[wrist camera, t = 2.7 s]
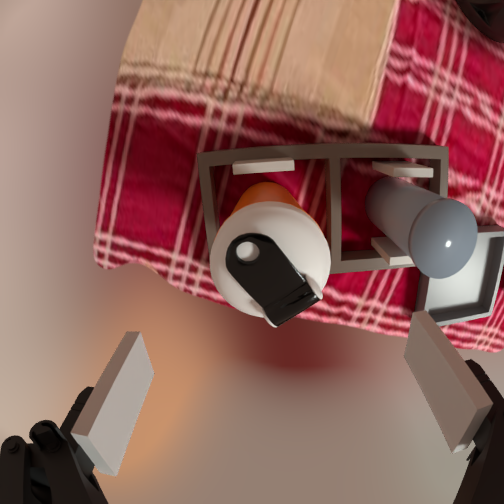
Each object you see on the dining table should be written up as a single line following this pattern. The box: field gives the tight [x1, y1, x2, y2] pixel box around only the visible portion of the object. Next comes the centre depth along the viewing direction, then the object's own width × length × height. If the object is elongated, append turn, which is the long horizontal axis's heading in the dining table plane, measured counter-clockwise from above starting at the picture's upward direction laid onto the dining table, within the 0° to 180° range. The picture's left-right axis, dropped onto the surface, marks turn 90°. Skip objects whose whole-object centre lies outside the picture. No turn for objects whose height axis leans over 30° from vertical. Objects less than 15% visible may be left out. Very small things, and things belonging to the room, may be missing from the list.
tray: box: [414, 225, 504, 326], centre depth 40 cm, size 15×15×3 cm
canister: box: [365, 177, 478, 279], centre depth 32 cm, size 7×7×15 cm
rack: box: [197, 143, 448, 274], centre depth 36 cm, size 16×30×7 cm, turn 95°
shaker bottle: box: [210, 182, 331, 327], centre depth 30 cm, size 9×9×20 cm
